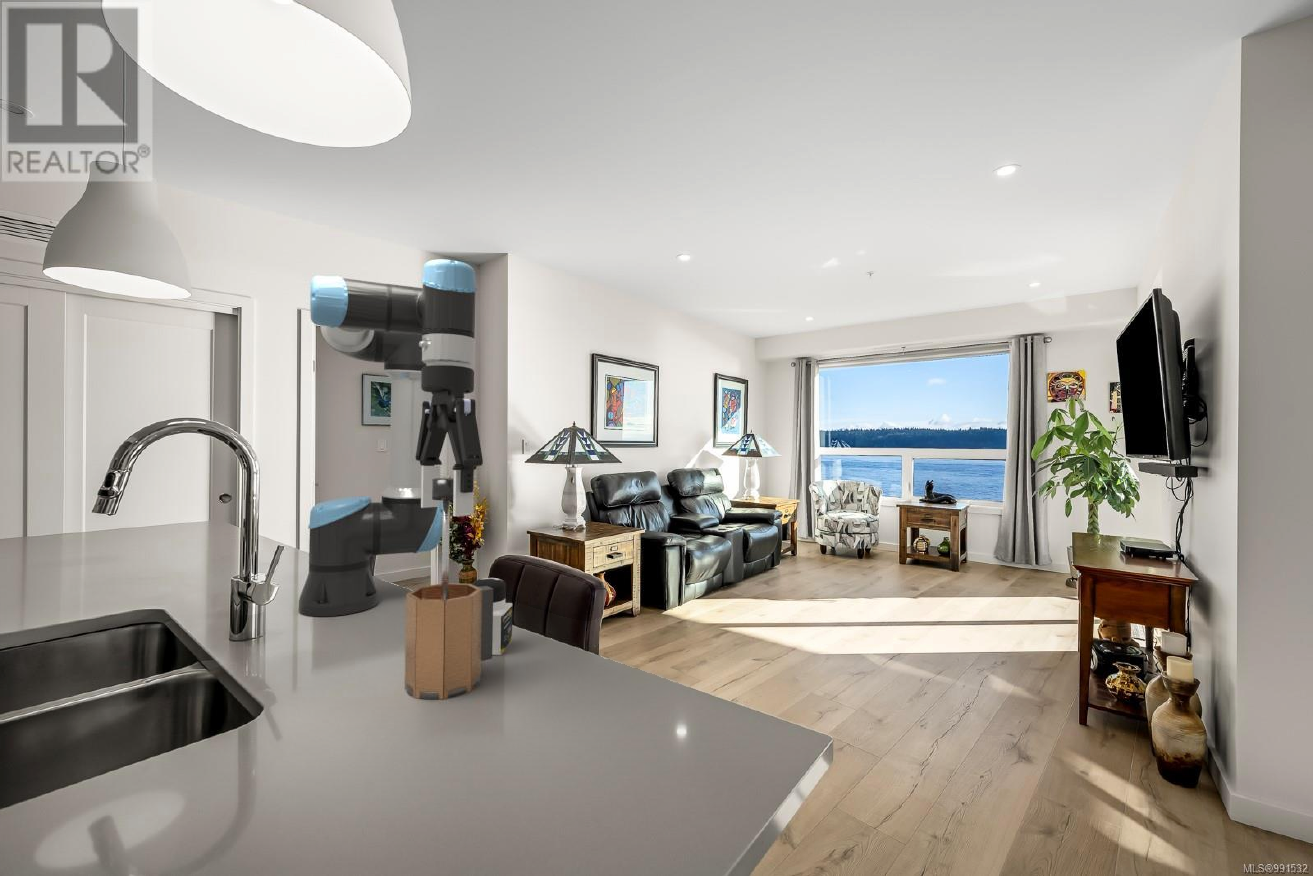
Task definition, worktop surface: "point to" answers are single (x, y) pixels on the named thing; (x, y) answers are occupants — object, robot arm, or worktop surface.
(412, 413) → the robot arm
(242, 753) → the worktop surface
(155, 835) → the worktop surface
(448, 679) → the press carafe
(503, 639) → the medicine bottle
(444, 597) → the plunger
